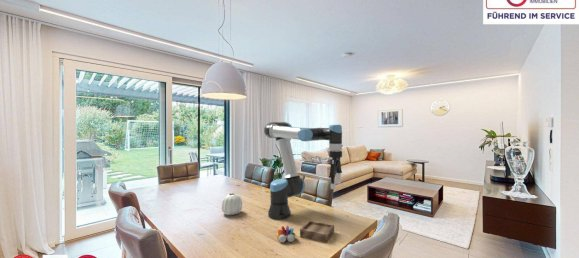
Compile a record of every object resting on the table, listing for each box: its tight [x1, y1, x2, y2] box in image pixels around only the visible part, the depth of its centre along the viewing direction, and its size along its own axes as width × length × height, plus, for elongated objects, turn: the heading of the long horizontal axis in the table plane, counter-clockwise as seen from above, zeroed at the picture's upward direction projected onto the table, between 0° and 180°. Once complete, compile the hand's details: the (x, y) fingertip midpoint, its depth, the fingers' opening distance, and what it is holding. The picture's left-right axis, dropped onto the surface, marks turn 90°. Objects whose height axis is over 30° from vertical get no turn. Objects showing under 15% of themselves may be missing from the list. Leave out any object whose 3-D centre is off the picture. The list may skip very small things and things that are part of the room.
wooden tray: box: [299, 220, 335, 243], centre depth 128 cm, size 15×13×4 cm
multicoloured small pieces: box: [276, 225, 296, 243], centre depth 124 cm, size 8×10×7 cm
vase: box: [221, 192, 243, 216], centre depth 163 cm, size 14×14×13 cm
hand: (335, 186), depth 140 cm, fingers open, 13 cm apart
